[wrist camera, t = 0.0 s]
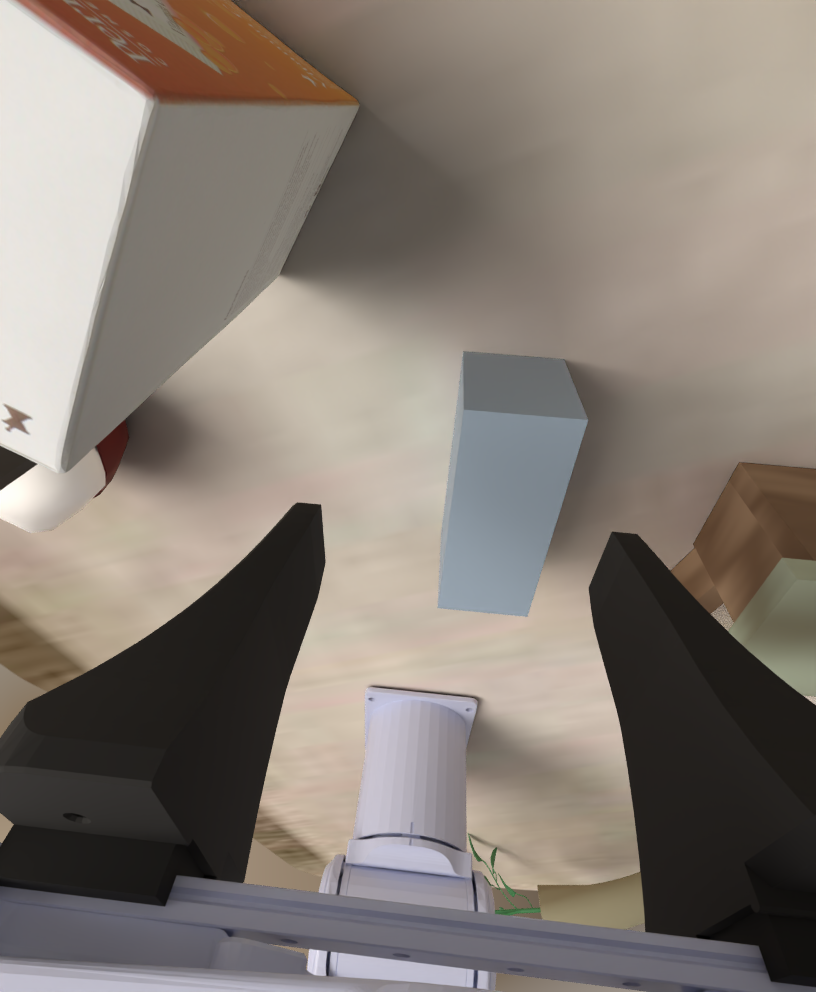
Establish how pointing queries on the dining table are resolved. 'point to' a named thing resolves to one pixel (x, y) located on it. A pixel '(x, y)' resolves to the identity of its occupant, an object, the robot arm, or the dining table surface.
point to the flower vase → (585, 901)
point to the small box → (140, 199)
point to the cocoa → (56, 484)
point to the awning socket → (763, 567)
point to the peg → (506, 479)
